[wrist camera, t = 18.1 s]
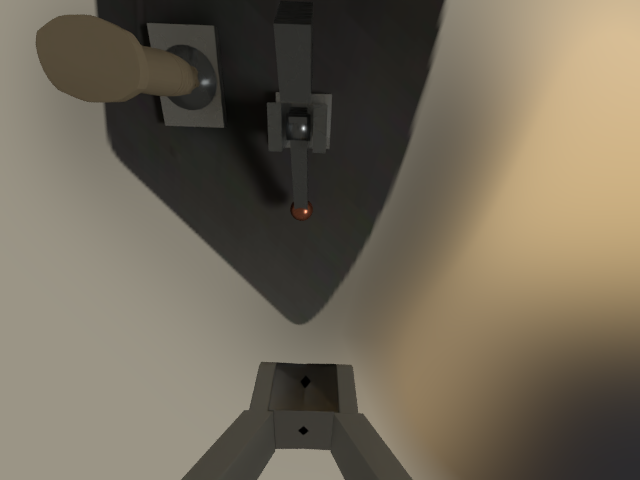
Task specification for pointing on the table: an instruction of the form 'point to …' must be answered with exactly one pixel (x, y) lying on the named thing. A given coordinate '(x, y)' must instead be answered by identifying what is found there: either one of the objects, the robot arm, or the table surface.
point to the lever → (296, 91)
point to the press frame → (209, 97)
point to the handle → (108, 62)
